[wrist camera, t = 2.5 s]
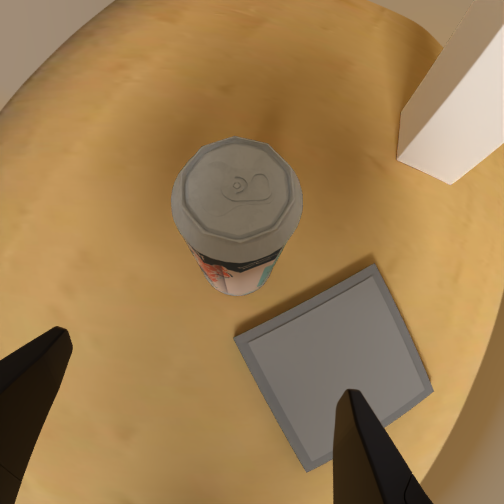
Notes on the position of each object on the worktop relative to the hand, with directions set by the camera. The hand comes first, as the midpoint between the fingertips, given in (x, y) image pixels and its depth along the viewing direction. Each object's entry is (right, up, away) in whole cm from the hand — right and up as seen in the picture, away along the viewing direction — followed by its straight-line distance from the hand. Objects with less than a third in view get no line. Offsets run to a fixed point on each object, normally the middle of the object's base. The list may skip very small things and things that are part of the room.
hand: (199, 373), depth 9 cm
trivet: (+8, -5, +12) cm, 15 cm away
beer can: (+1, +3, +13) cm, 14 cm away
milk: (+18, +13, +17) cm, 28 cm away
